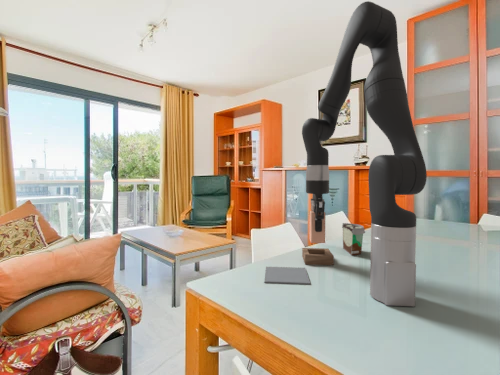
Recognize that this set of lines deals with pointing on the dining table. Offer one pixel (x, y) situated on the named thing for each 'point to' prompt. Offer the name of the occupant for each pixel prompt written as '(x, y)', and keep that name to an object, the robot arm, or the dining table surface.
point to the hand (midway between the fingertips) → (317, 229)
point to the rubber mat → (286, 275)
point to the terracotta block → (313, 235)
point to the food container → (352, 238)
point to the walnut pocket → (317, 256)
